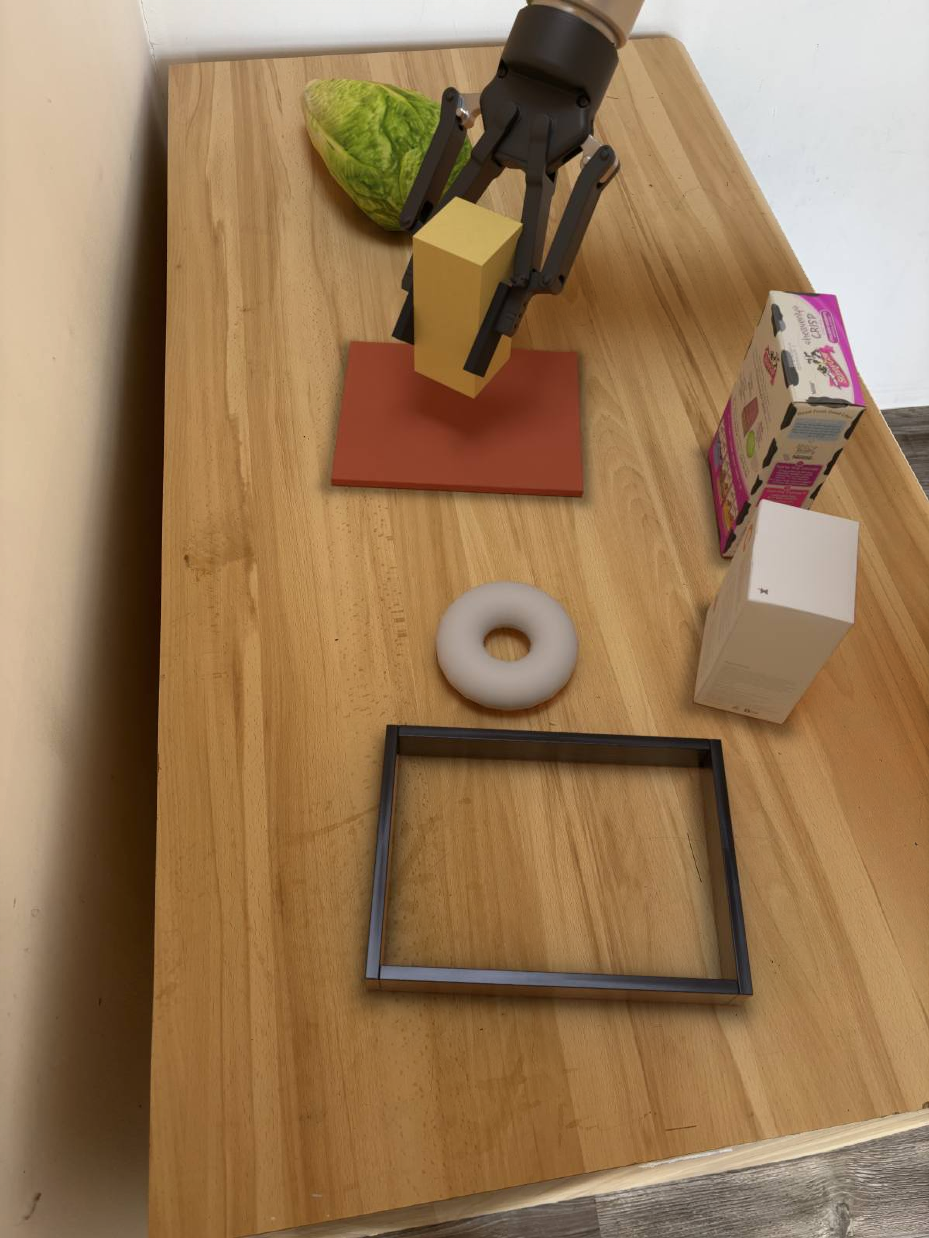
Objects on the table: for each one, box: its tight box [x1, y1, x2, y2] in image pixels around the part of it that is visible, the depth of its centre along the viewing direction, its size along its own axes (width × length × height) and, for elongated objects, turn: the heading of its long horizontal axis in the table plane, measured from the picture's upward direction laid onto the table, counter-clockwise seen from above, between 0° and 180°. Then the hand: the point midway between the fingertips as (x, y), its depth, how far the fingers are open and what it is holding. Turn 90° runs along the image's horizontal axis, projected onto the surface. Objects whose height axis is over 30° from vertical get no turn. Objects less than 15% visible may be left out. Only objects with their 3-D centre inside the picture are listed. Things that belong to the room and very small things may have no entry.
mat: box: [330, 340, 584, 498], centre depth 78 cm, size 20×16×1 cm
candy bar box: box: [707, 290, 868, 559], centre depth 68 cm, size 11×5×16 cm, turn 178°
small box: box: [693, 499, 861, 725], centre depth 61 cm, size 8×6×13 cm
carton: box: [412, 197, 523, 398], centre depth 69 cm, size 6×6×12 cm
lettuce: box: [299, 78, 474, 232], centre depth 92 cm, size 12×24×13 cm
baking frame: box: [364, 723, 754, 1006], centre depth 57 cm, size 22×16×3 cm
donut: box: [434, 580, 580, 711], centre depth 65 cm, size 10×4×10 cm
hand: (438, 356), depth 69 cm, fingers closed on carton, 5 cm apart
